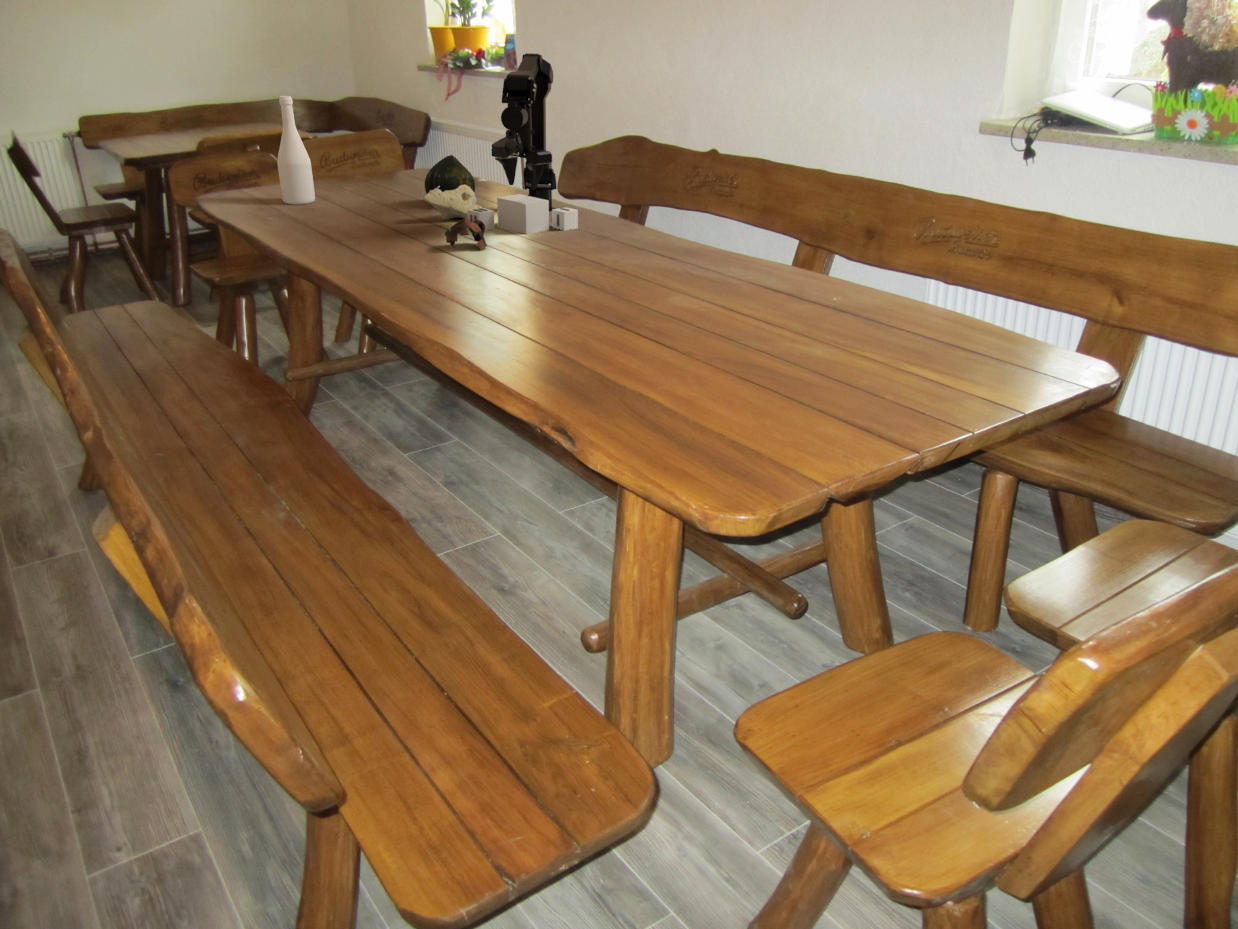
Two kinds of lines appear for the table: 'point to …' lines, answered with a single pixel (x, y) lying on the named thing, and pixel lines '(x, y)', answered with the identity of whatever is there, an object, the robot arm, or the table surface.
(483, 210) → the white marked cube
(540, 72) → the robot arm
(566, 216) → the striped block one
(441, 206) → the cheese
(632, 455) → the table surface
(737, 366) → the table surface
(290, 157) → the wine bottle
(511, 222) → the plain grey block
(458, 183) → the squash
